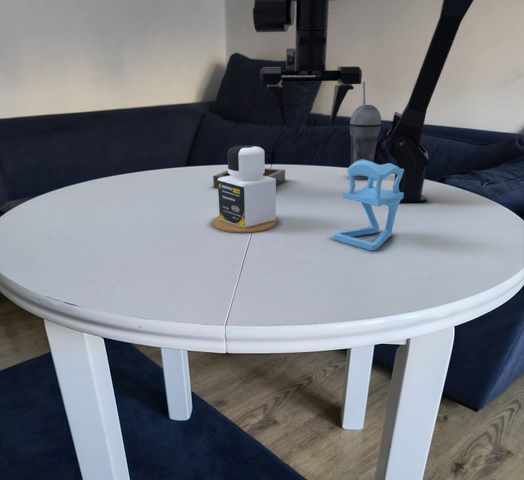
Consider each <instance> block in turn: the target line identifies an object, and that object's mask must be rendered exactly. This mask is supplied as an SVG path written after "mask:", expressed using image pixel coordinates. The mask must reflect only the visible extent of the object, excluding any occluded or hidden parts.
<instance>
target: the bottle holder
mask: <svg viewBox="0 0 524 480" xmlns="http://www.w3.org/2000/svg"><path fill="white" fill-rule="evenodd" d="M226 176H230V174H229V173H228V169H227V170H224V171H222V172H220V173H218V174H217V173H216V174H214V175H213V176H212V179H213V182H212V183H213V188H214V189H218V178H220V177H226ZM263 176H267V177H272V178H275V179H276V187H277V186H279V185H280V184H282V183H284V182H285V181H286V169H279V168H267V167H265V173H263Z"/></svg>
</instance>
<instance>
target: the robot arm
mask: <svg viewBox="0 0 524 480" xmlns="http://www.w3.org/2000/svg"><path fill="white" fill-rule="evenodd" d="M331 1H334V0H254V4H253V7H252V20H253V27H254V30H255V32H256V33H287V32H288V30H289V27H291V26H293V25H294V24H295V45H294V47H295V48H286V56H285V69H286V70H282V66H263V67H262V68H261V70H260V71H259V85H260V86H266V90H267V91H272V93H273V96H274V98H275V100H276V103H277V106H278V110H279V114H280V118H281V122H282V126H283V127H286V126H287V113H286V106H285V105H286V104H285V95H284V87H283V85H282V84H283V82H336V84H335V85H334V87H333V88H334V91H333V99H332V105H331V111H330V117H329V118H330V119H329V126H330V127H333V126H334V123H335V121H336V118H337V116H338V113H339V111H340V108H341V105H342V104H343V102H344V100H345V98H346V95H347V94H348V92H349V91H350V90H351V91H353V90H354V89H355V87H354V85H362V79H363V70H362V68H360V66H355V65H353V66H349V65H348V66H338V67H337V69H336V70H335V69H334V70H332V69H331V70H330V69H327V70H326V67H327V66H326V65H327V49H328V47H327V46H328V27H329V9H330V8H329V7H330V2H331ZM474 1H475V0H442V2H441V3H442V4H441V8H440V13H439V17H438V21H437V23H436V25H435V29H434V31H433V34H432V37H431V39H430V41H429V45H428V47H427V50H426V53H425V55H424V59H423V61H422V64H421V67H420V69H419V72H418V75H417V78H416V80H415V83H414V85H413V88H412V91H411V93H410V95H409V96H410V97H409V99H408V102H407V104H406V105H405V107H404V109H403V111H402V113H399V112H398V111H394V113H393V117H392V123H391V126H390V128H389V129H388V131H387V132H386V136H385V139H388V141H387V151H388V153H389V155H390V157H392V158H393V159H394V160H396V165H395V166H397V167H399V168H400V169H404V172H403V175H402V177H401V180H400V182H399V192H402V193H404V195H403V199H401V200H400V202H399V203H427V201H428V199H427V197H425V196H424V195H423V190H424V183H425V177H426V171H427V166H428V163H429V162H430V161H429V155H428V150H426V149H425V148H424V146H423V145H422V144H421V139H422V135H423V130H424V126H425V121H426V115H427V111H428V108H429V105H430V103H431V100H432V97H433V95H434V93H435V90H436V88H437V85H438V82H439V79H440V77H441V75H442V72H443V70H444V66H445V65H446V62H447V59H448V57H449V54H450V51H451V49H452V46H453V44H454V41H455V39H456V36H457V35H458V34H457V33H458V31H459V28H460V26H461V24H462V21H463V19H464V18H465V16H466V15H467V12H468V11H469V10H470V8H471V6H472V4H473V2H474ZM295 3H296V4H295ZM295 5H296V7H295ZM396 178H397V174H395V173H394V177H393V183H394V182H395V180H396Z"/></svg>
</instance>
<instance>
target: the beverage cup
mask: <svg viewBox="0 0 524 480" xmlns="http://www.w3.org/2000/svg"><path fill="white" fill-rule="evenodd" d="M349 121H350V122H349V123H348V126H349V135H350V166H351V165H352V164H353V163H355V162H357V161H359V160H361V159H365V160H367V161H371V162H373V163H374V161H375V155H376V149H377V144H378V140H379V139H378V138H379V135H380V132H381V127H382V126H383V124H382V116H381V113H380V110H379V109H378V108H377V107H376V106H375V105H373V104H366V81H362V104H361V105H359V106H358V107H357V108H355V110H353V112H352V114H351V117H350V120H349ZM353 178H354V180H356V181H357V180H358V181H366V180H367V181H368V178H369V177H367V176H353Z"/></svg>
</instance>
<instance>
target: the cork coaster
mask: <svg viewBox="0 0 524 480" xmlns="http://www.w3.org/2000/svg"><path fill="white" fill-rule="evenodd" d="M212 225H213V227H214V228H215V229H218V230H220V231H223V232H229V233H237V234H238V233H239V234H241V233H242V234H243V233H244V234H247V233H259V232H264V231H266V230H267V231H268V230H270V229H272V228H274V227H275V226H276V225H277V218H276V219H275V221H271V222H267V223H264V224H260V225H256V226H252V227H248V228H242V227H239V226H236V225H234V224H231V223H228V222H225V221H222V220H220V215H219V216H217V217H215V218H214V219H213V221H212Z"/></svg>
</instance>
